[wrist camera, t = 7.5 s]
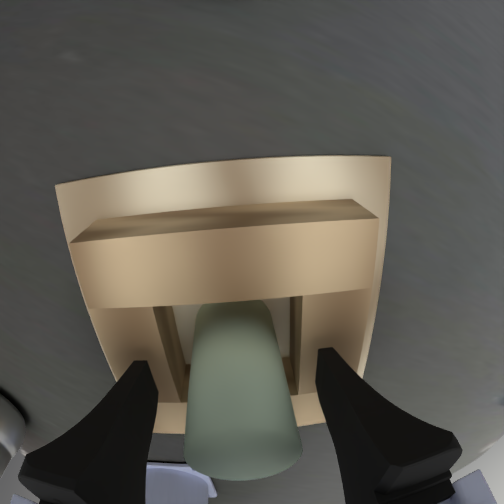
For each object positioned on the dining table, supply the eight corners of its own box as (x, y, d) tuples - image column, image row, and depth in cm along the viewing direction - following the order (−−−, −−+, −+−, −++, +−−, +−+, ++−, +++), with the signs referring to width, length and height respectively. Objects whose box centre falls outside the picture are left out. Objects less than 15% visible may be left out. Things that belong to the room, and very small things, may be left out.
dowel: (209, 358, 17) (206, 485, 10) (185, 301, 15) (163, 436, 8) (278, 343, 17) (307, 468, 10) (263, 283, 15) (294, 415, 8)
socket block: (133, 409, 19) (124, 446, 16) (58, 183, 13) (21, 201, 10) (355, 393, 20) (370, 428, 17) (387, 156, 14) (425, 167, 10)
